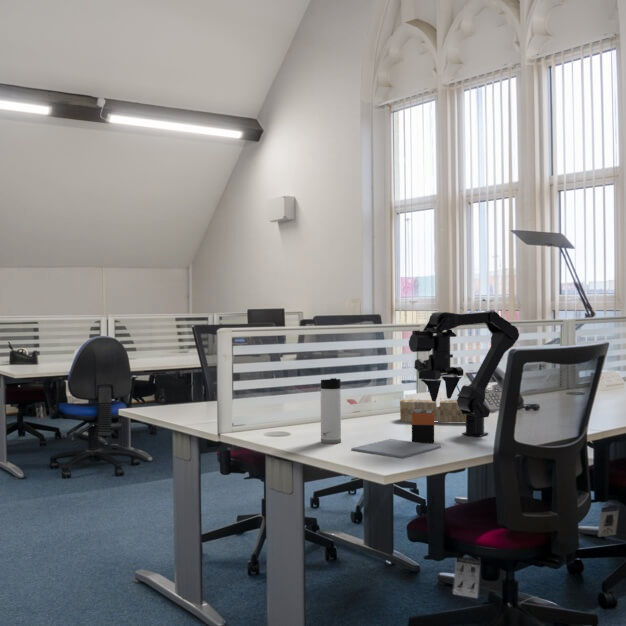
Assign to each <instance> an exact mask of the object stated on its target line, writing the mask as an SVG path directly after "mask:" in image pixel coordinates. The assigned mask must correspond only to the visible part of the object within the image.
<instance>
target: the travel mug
mask: <svg viewBox="0 0 626 626" xmlns="http://www.w3.org/2000/svg"><path fill="white" fill-rule="evenodd" d="M341 381H342V380H341V378H336V377H334V378H333V377H331V378H330V379H320V442H321V444H322V443H323V444H329V445H331V444H333V445H334V444H340V443H341V442H342V391H341V390H342V389H341Z"/></svg>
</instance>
